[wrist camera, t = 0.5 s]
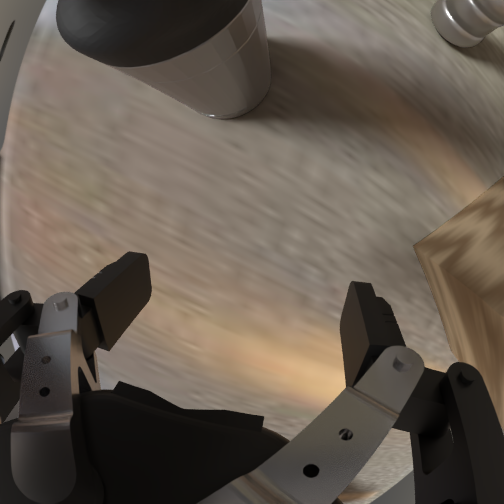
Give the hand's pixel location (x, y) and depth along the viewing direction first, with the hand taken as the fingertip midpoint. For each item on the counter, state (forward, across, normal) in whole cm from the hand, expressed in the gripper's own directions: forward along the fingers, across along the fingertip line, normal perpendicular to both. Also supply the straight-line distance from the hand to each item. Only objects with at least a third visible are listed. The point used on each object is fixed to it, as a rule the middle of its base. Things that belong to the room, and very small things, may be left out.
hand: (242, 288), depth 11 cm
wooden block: (+20, -28, +6) cm, 35 cm away
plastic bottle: (+23, -19, -23) cm, 38 cm away
